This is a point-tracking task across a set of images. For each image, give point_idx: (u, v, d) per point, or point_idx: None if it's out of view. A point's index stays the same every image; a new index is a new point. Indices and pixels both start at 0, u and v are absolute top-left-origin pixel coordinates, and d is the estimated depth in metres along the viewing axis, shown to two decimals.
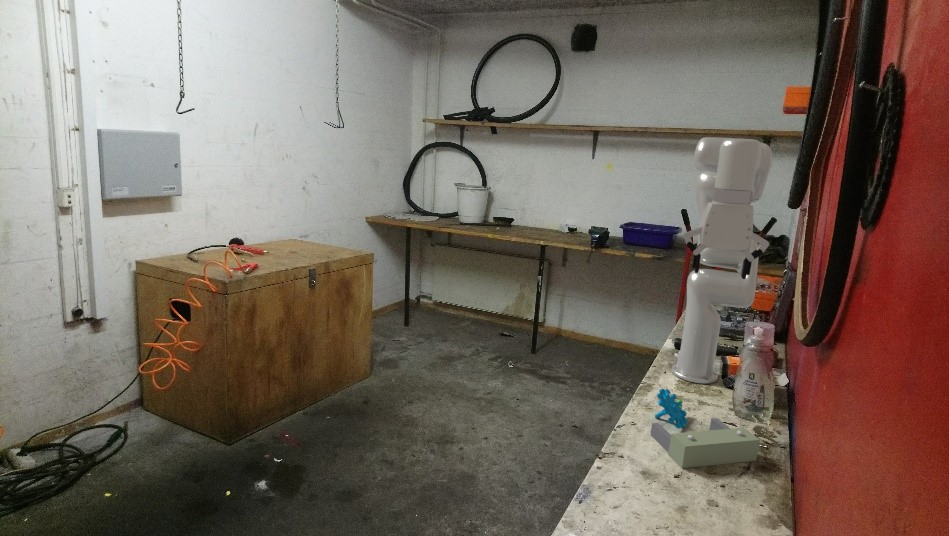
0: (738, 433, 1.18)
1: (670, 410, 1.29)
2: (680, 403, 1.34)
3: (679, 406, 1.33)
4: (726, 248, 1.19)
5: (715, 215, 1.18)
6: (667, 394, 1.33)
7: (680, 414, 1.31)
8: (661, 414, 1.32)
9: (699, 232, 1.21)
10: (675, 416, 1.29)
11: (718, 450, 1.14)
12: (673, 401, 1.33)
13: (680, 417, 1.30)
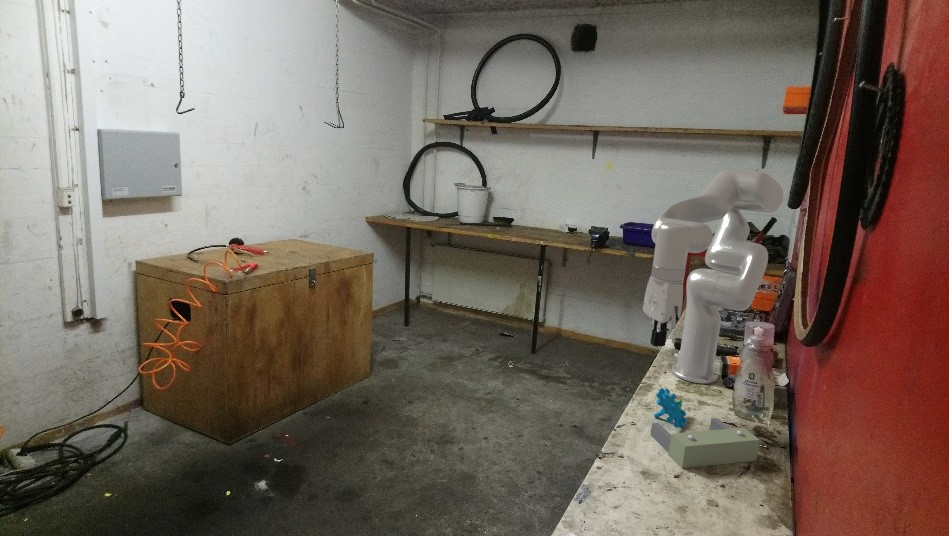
0: (738, 433, 1.18)
1: (669, 409, 1.29)
2: (680, 403, 1.34)
3: (678, 406, 1.33)
4: None
5: None
6: (666, 394, 1.33)
7: (679, 414, 1.31)
8: (660, 413, 1.33)
9: None
10: (674, 416, 1.29)
11: (718, 450, 1.14)
12: (672, 401, 1.33)
13: (679, 417, 1.30)
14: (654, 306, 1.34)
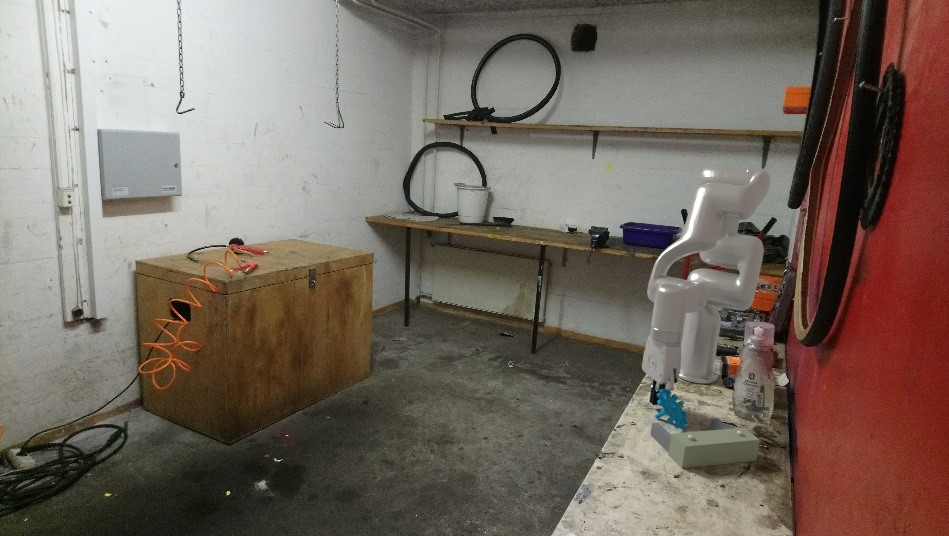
0: (738, 433, 1.18)
1: (670, 410, 1.29)
2: (681, 404, 1.34)
3: (680, 407, 1.33)
4: None
5: None
6: (668, 394, 1.33)
7: (680, 415, 1.31)
8: (661, 414, 1.32)
9: None
10: (675, 416, 1.28)
11: (718, 450, 1.14)
12: (674, 401, 1.32)
13: (680, 418, 1.30)
14: (653, 366, 1.35)
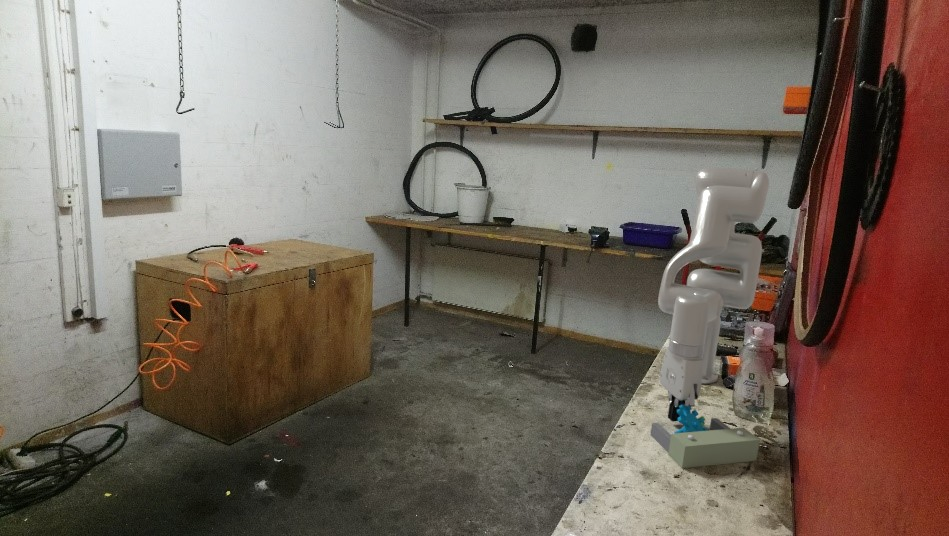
0: (738, 433, 1.18)
1: (691, 428, 1.21)
2: (702, 420, 1.26)
3: (701, 423, 1.25)
4: None
5: None
6: (688, 410, 1.25)
7: None
8: (681, 431, 1.25)
9: None
10: None
11: (718, 450, 1.14)
12: (694, 418, 1.25)
13: None
14: (672, 381, 1.27)
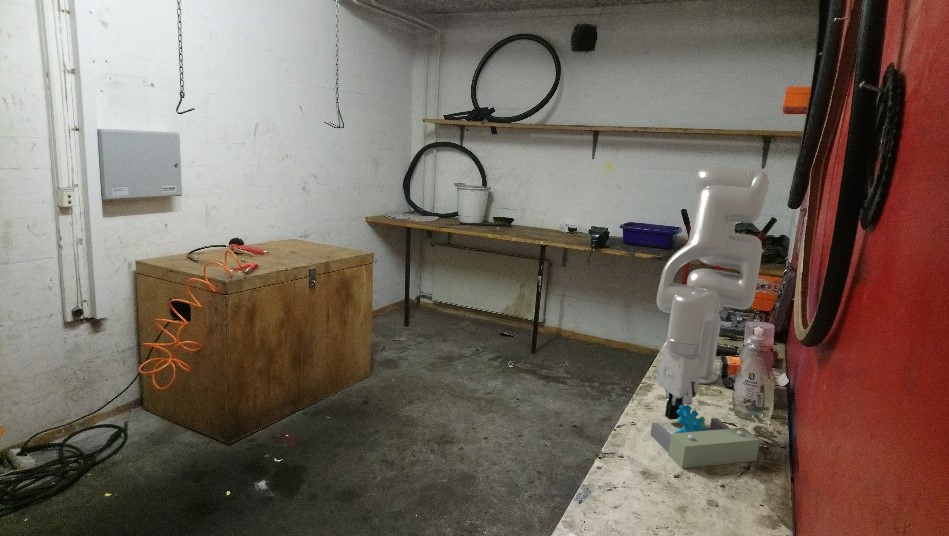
0: (738, 433, 1.18)
1: (691, 428, 1.21)
2: (702, 420, 1.26)
3: (701, 424, 1.25)
4: None
5: None
6: (688, 411, 1.25)
7: None
8: (681, 432, 1.25)
9: None
10: None
11: (718, 450, 1.14)
12: (694, 418, 1.25)
13: None
14: (670, 379, 1.28)
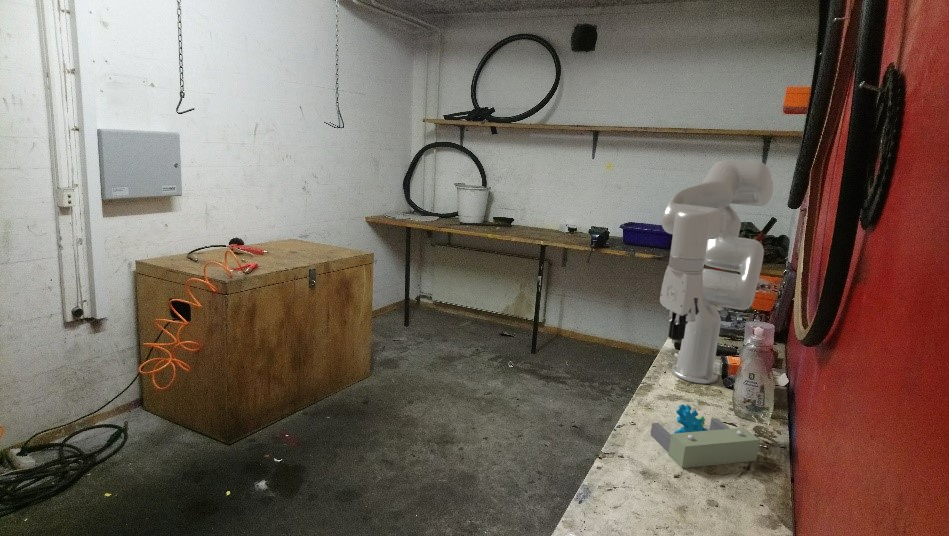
0: (738, 433, 1.18)
1: (690, 428, 1.21)
2: (702, 420, 1.26)
3: (700, 424, 1.25)
4: None
5: None
6: (688, 410, 1.25)
7: None
8: (681, 431, 1.25)
9: None
10: None
11: (718, 450, 1.14)
12: (694, 418, 1.25)
13: None
14: (673, 298, 1.27)
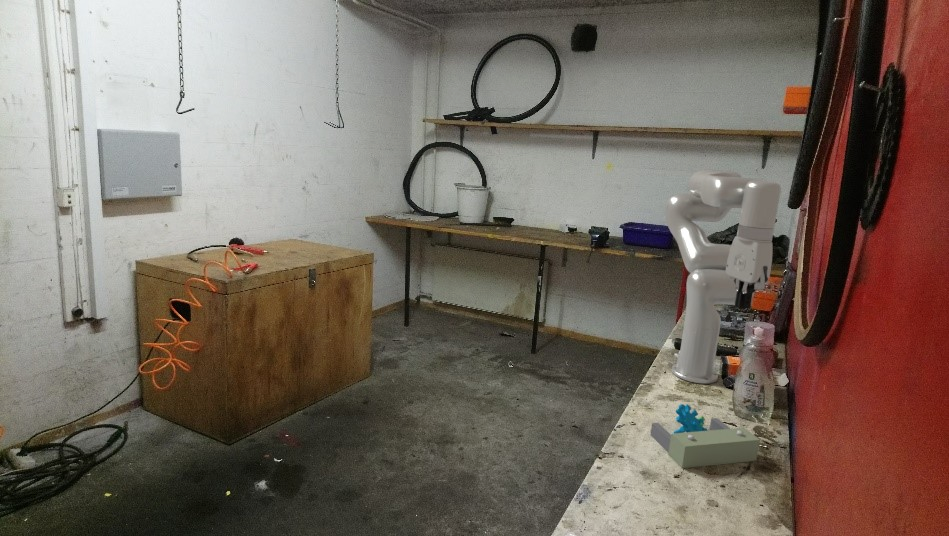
0: (738, 433, 1.18)
1: (689, 427, 1.22)
2: (701, 420, 1.26)
3: (700, 423, 1.25)
4: None
5: None
6: (687, 410, 1.26)
7: None
8: (680, 431, 1.25)
9: None
10: None
11: (718, 450, 1.14)
12: (693, 418, 1.25)
13: None
14: (741, 267, 1.31)
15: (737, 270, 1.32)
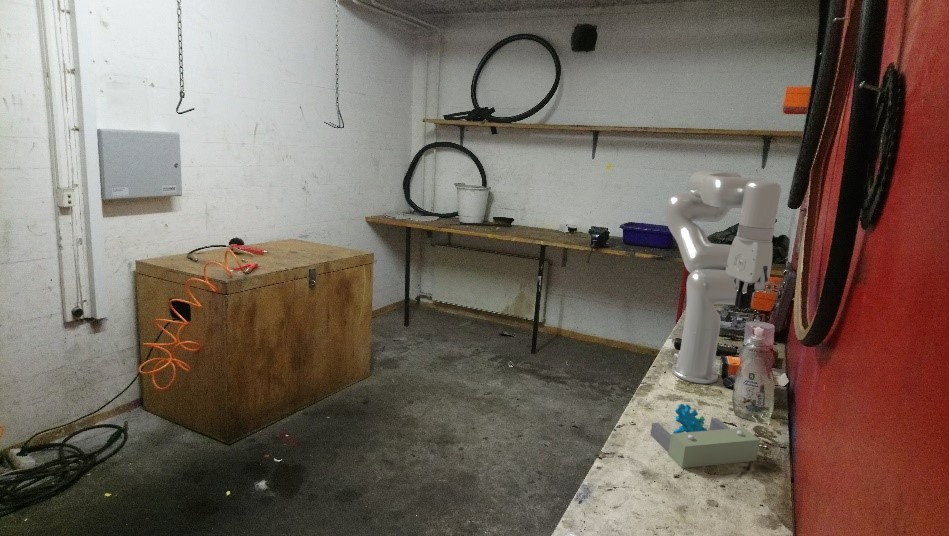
0: (738, 433, 1.18)
1: (689, 427, 1.22)
2: (701, 420, 1.26)
3: (700, 423, 1.25)
4: None
5: None
6: (687, 410, 1.26)
7: None
8: (680, 431, 1.25)
9: None
10: None
11: (718, 450, 1.14)
12: (693, 418, 1.25)
13: None
14: (741, 267, 1.31)
15: (737, 270, 1.32)
